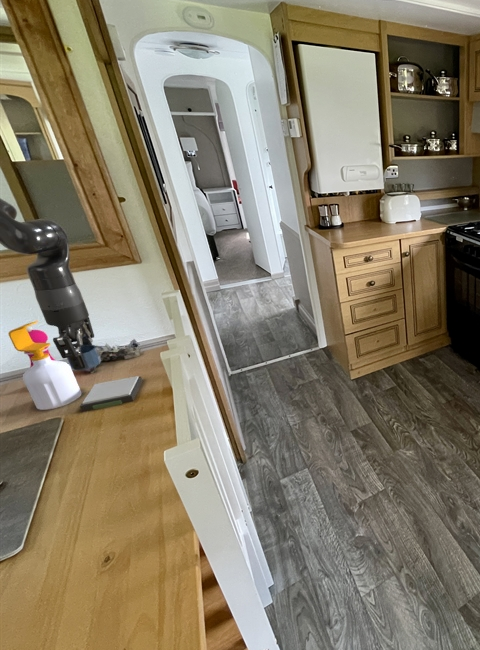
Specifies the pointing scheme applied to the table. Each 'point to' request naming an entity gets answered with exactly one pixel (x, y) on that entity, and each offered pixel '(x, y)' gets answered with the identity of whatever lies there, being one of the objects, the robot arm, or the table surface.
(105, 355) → the foil
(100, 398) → the scale
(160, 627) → the table surface
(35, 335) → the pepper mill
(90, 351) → the bowl
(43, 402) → the spray bottle
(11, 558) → the table surface
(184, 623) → the table surface
